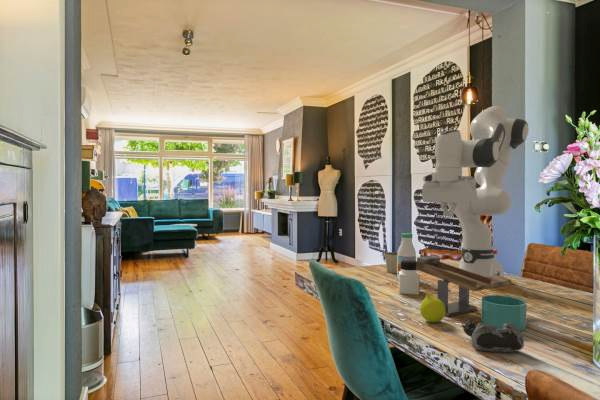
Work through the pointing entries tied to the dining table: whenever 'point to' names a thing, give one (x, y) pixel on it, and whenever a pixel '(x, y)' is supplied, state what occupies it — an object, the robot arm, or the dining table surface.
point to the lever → (458, 274)
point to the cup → (503, 311)
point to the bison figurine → (494, 337)
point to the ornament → (432, 309)
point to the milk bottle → (405, 251)
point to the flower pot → (391, 261)
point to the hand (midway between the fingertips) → (448, 216)
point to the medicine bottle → (408, 278)
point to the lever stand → (456, 306)
